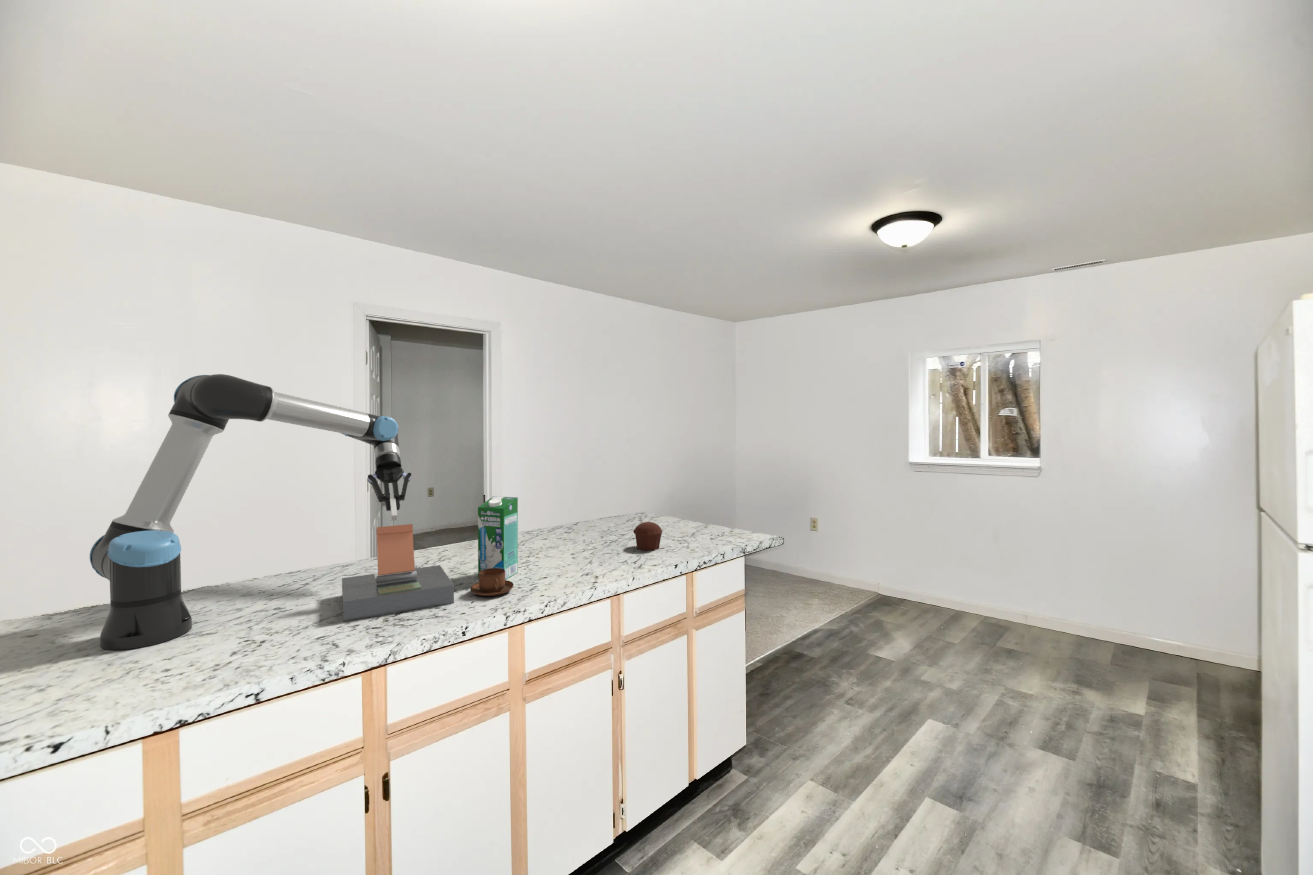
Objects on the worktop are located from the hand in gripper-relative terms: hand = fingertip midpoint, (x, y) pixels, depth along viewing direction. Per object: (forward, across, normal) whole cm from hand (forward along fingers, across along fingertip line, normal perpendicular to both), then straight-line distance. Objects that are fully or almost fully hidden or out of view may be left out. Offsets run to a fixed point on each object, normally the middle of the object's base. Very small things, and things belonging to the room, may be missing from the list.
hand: (394, 517), depth 160 cm
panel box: (+27, +1, -1) cm, 27 cm away
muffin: (+18, -89, -11) cm, 91 cm away
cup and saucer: (+32, -23, +4) cm, 40 cm away
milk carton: (+22, -29, -7) cm, 37 cm away
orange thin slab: (+22, +1, +3) cm, 22 cm away
